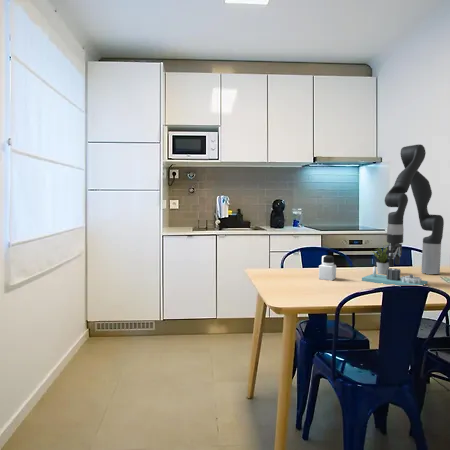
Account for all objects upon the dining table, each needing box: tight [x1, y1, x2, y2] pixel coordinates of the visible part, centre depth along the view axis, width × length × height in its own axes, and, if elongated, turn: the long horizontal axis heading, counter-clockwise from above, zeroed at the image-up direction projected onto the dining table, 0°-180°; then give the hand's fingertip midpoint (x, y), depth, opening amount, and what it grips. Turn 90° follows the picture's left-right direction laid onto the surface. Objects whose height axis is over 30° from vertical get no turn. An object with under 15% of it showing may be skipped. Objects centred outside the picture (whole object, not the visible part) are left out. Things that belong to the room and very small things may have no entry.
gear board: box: [361, 266, 429, 286], centre depth 203 cm, size 15×27×7 cm, turn 48°
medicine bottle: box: [318, 254, 337, 281], centre depth 210 cm, size 7×7×12 cm
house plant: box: [371, 245, 395, 275], centre depth 227 cm, size 14×14×16 cm
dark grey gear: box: [386, 267, 401, 281], centre depth 203 cm, size 6×6×5 cm
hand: (394, 265), depth 203 cm, fingers open, 8 cm apart
